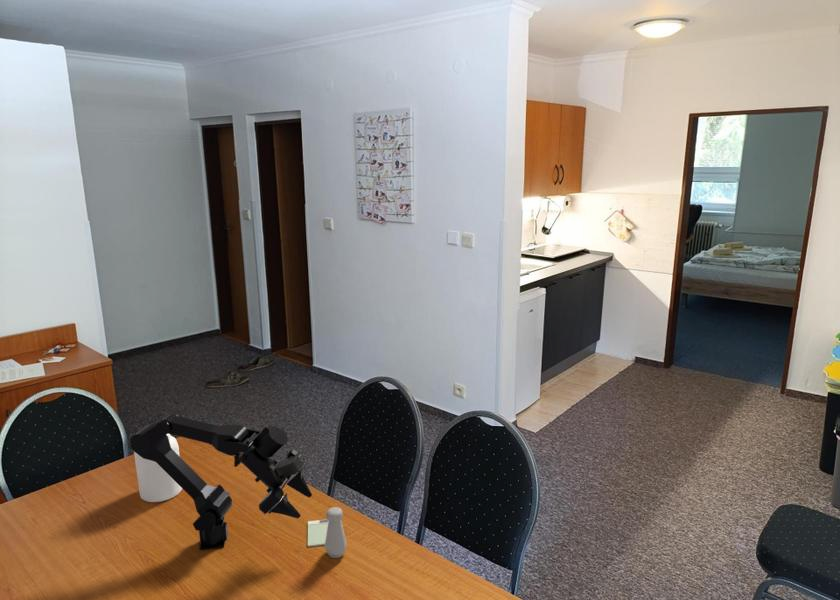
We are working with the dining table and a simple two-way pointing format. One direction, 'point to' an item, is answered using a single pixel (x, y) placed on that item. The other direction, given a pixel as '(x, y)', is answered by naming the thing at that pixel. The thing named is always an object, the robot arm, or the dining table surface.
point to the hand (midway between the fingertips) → (305, 506)
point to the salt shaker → (335, 533)
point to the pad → (317, 532)
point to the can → (156, 478)
